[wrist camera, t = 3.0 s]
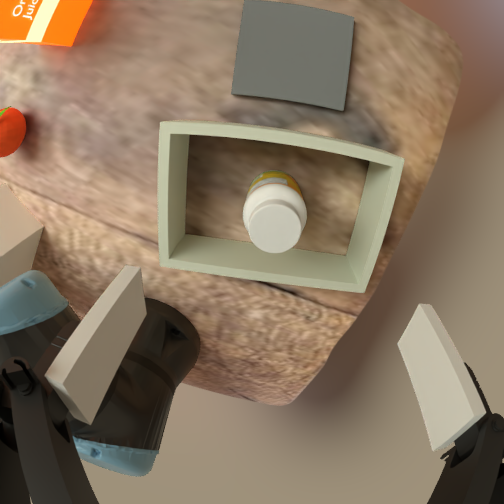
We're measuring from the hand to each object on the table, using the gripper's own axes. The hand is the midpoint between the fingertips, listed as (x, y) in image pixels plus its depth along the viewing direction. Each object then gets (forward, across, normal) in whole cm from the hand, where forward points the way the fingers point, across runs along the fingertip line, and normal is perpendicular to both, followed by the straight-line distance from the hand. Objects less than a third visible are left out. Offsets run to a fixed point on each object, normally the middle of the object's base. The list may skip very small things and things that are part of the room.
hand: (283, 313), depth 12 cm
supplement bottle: (+19, 0, 0) cm, 19 cm away
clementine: (+19, +36, -8) cm, 42 cm away
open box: (+19, 0, 0) cm, 19 cm away
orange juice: (+19, +30, -23) cm, 42 cm away
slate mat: (+19, 0, -15) cm, 25 cm away
